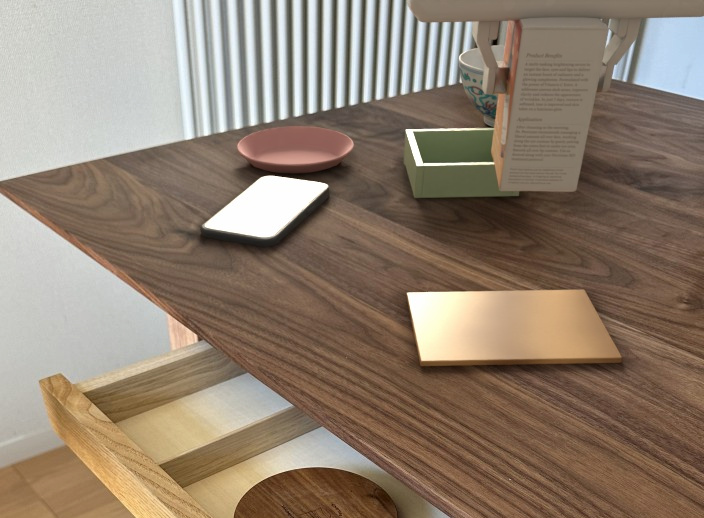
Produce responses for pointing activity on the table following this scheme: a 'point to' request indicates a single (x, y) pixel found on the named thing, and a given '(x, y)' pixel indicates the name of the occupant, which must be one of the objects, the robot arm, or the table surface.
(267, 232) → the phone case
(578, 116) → the small box
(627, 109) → the table surface
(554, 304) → the gold metal mat
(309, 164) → the plate
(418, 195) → the open bin
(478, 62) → the chinaware
